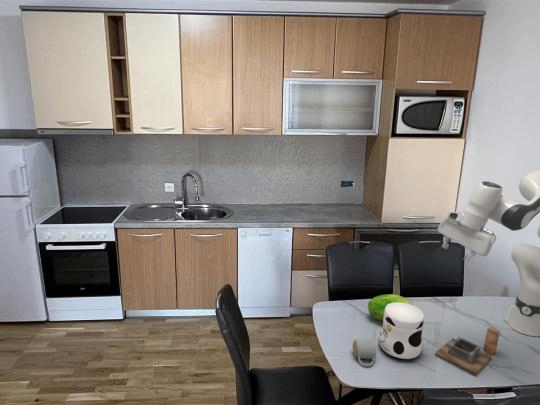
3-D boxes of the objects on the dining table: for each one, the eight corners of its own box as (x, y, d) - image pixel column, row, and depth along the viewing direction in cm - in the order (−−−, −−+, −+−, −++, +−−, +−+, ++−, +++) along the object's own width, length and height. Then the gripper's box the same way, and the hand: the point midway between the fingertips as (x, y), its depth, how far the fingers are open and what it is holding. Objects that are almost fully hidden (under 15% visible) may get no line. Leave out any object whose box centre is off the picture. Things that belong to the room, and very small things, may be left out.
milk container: (369, 342, 168) (373, 304, 163) (401, 334, 174) (406, 298, 170) (396, 367, 152) (401, 326, 148) (430, 358, 159) (436, 318, 154)
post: (485, 346, 167) (489, 326, 165) (497, 352, 164) (501, 331, 161) (481, 351, 164) (485, 330, 162) (493, 356, 161) (497, 335, 158)
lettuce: (418, 324, 183) (421, 301, 180) (373, 328, 178) (376, 305, 175) (403, 309, 195) (406, 288, 192) (361, 313, 190) (363, 292, 187)
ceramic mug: (351, 350, 162) (352, 334, 160) (370, 350, 162) (372, 334, 160) (357, 368, 152) (359, 351, 150) (378, 368, 152) (380, 351, 150)
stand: (452, 340, 171) (454, 329, 169) (491, 359, 159) (493, 347, 158) (434, 355, 160) (436, 344, 159) (475, 376, 149) (477, 364, 147)
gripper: (501, 236, 141) (483, 268, 145) (452, 211, 157) (437, 242, 160) (494, 234, 137) (475, 268, 141) (444, 210, 153) (428, 241, 156)
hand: (454, 254), depth 151 cm, fingers open, 8 cm apart
